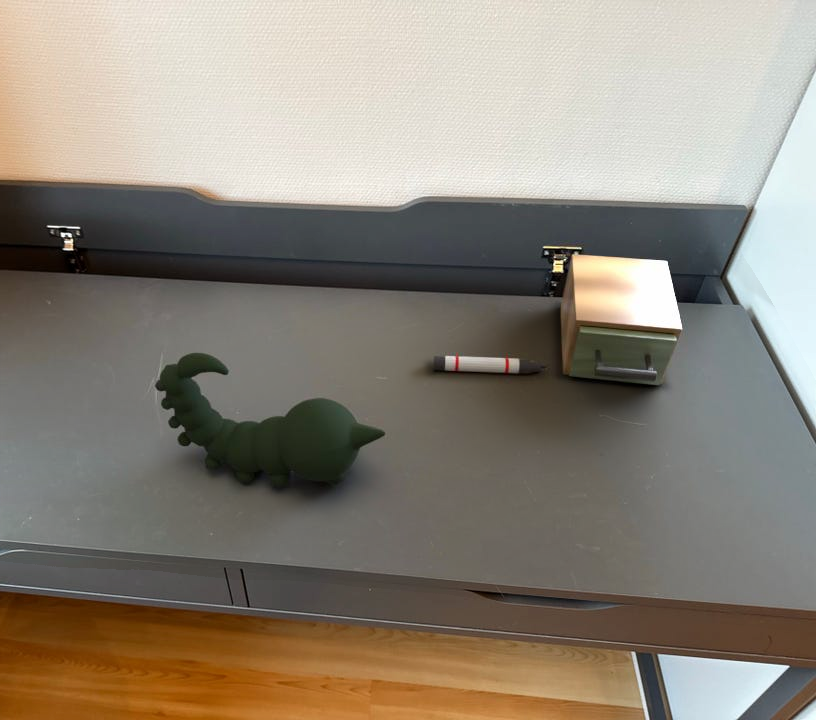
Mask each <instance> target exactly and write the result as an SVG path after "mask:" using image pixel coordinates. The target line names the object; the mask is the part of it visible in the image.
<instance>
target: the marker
mask: <svg viewBox="0 0 816 720" xmlns="http://www.w3.org/2000/svg"><path fill="white" fill-rule="evenodd" d="M548 367H549V365H543V364H542V362H539V361H532V360H531V359H528V358H511V357H510V358H509V357H487V356H485V357H483V356H460V355H459V356H455V355H434V356H433V370H434V371H446V372H447V371H451V372H472V373H473V372H474V373H475V372H477V373H499V374H530V373H532V372H541V370H547V369H548Z"/></svg>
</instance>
